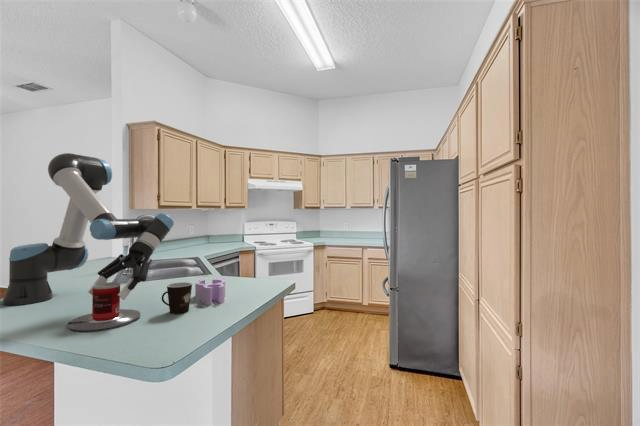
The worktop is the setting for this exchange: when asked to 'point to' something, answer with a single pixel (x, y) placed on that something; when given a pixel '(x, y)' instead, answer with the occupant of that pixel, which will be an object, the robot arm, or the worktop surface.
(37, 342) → the worktop surface
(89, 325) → the plate
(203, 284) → the clip
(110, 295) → the canned food
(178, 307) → the coffee mug
